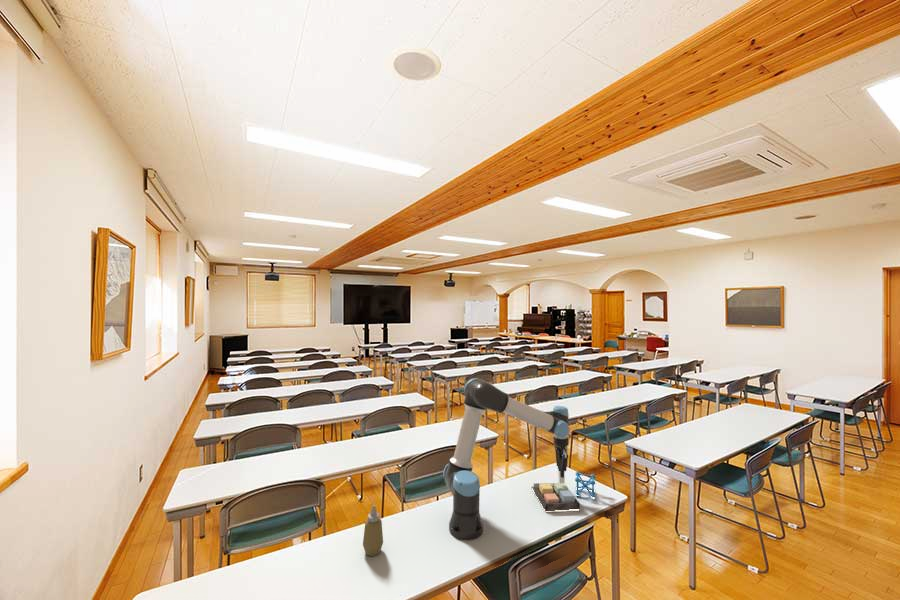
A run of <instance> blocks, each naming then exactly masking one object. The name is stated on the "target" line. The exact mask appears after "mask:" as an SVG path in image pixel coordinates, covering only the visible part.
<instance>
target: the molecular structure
mask: <svg viewBox="0 0 900 600" xmlns="http://www.w3.org/2000/svg"><path fill="white" fill-rule="evenodd" d="M581 476H583V477H590V478H589V479H588V480H584V479H582V477H581ZM595 478H596V475H595V474H594V473H591V474H585V473H580V472H579V471H576V472H575V479H574V481H575V482H576V486H575V488H576V487H577V490H576V492H575V493H576V494H577V495H579V493H580V494H581V493H582V491H584V490H583V489H587V490H588V491H587V492H588V493H589V496H592V497H595V498H596V495H595V493H594V489H595V486H594V485H596V480H595ZM580 484H582V485H580ZM590 485H591V487H589V486H590ZM578 488H582V489H580V490H579V491H578ZM589 490H592V493H591V491H589Z"/></svg>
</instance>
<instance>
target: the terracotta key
mask: <svg viewBox="0 0 900 600" xmlns="http://www.w3.org/2000/svg"><path fill="white" fill-rule="evenodd" d="M544 499H545V501H546V502H547V503H559V498H558V497H557V496H556V494H555V493H553V494H544Z"/></svg>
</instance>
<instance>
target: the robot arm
mask: <svg viewBox="0 0 900 600" xmlns="http://www.w3.org/2000/svg"><path fill="white" fill-rule="evenodd" d="M463 392H464V400H463V401H464V402H463V405H464V407H465V410H464V414H463V418H462V421H461V426H460V428H459V429H460V430H459V433H458V434H459V435H458V438H457V442H456V445H455V449H454V455H453V456H452V457H450V458H449V460H448V461H449V462H448V463H447V464H446V465H445V467H444V469H443V474H442V475H443V481H444V483H445V484H446V487H447V488H448V489H449V491H450V493H451V494H452V498H453V499H452V500H453V501H452V503H453V504H452V505H453V506H452V507H453V508H452V509H453V510H452V513H451V516H450V520H449V523H448V530H449V533H450V535H451V536H453V537H455V538H456V539H459V540H465V541H471V540H476V539H478V538H479V537H480V536H482V535H483V533H484V522H483V519H482V516H481V513H480V491H481V484H480V478H479V475H477V474H476V473H475V472H472V471H473V468H474V465H473V463H472V458H473V454H474V450H475V449H474V448H475V445H476V441H477V438H478V433H479V429H480V426H481V420H482V417H483V413H484V412H485V411H487V410H490V411H492V412H494V413H495V412H496V413H498V414H506V415H508V416H511V417H513V418H515V419H518V420H520V421H522V422H525V423H526V424H529V425H532V426H533V427H534V428H536V429H541V430H544V431H546V432H548V433H551V434H553V444H554V445H555V446H554V449H555V450H554V452H555V462H556V467H557V470H558V472H557V473H558V477H557V480H558V482H557V483H565V472H567V468H568V458H569V454H568V453H567V447H568V446H569V443H570V442H569V433H570V430H571V429H570V425H569V409H568V408H567V407H566V406H563V405H556V406H553V409H552V410H551V411H542V410H540V409H537V408H536V407H532V406H531V405H528V404H526V403H524V402H521V401H519V400H517V399H514V398H512V397H510V395H509V393H507V392H504V391H503V390H500V389H499V388H497V386H494V384H491V383H490V382H488V381H486V380H484V379H482V378H478V377H475V378H471V379H470V380H468V381H467V382H466V383H465V385H464V390H463ZM565 484H566V483H565Z"/></svg>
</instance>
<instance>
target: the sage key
mask: <svg viewBox="0 0 900 600" xmlns="http://www.w3.org/2000/svg"><path fill="white" fill-rule="evenodd" d="M553 483H554V490H555V491H556V493H557V494H560V491H568V490H569V487H568V486H567V484H566V483H559V482H553Z"/></svg>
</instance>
